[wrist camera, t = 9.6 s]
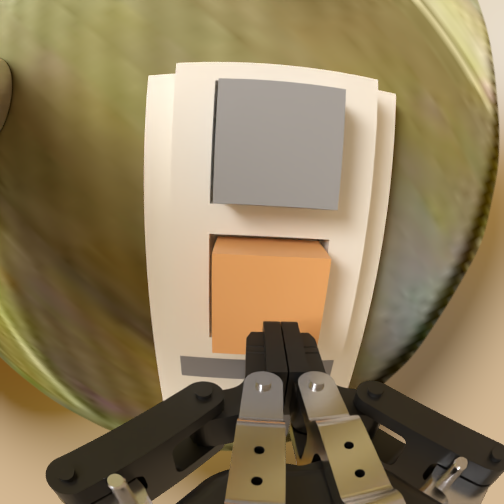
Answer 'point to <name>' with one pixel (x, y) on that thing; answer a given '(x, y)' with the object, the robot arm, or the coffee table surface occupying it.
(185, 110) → the control panel
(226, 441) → the robot arm
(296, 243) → the orange button
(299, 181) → the grey button
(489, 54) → the coffee table surface
